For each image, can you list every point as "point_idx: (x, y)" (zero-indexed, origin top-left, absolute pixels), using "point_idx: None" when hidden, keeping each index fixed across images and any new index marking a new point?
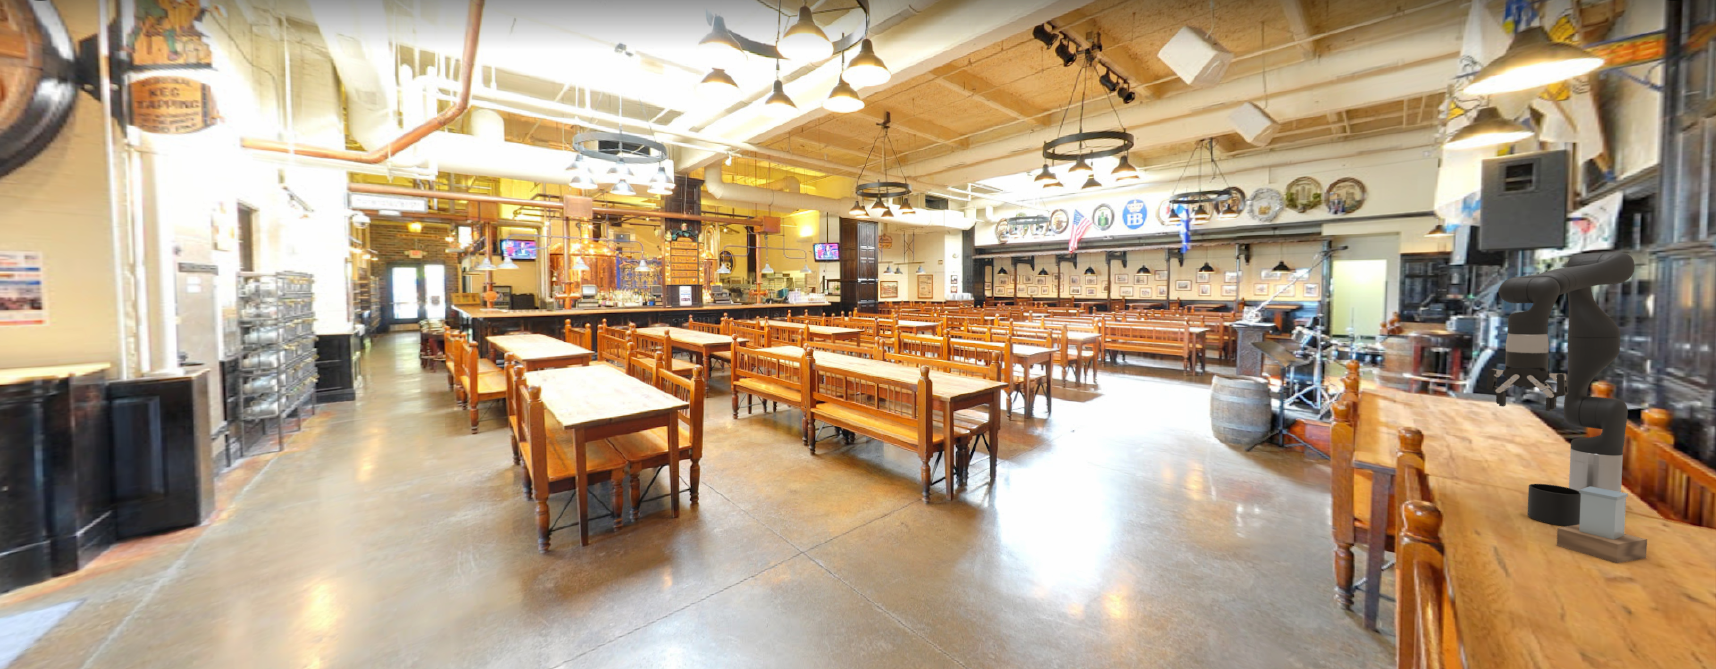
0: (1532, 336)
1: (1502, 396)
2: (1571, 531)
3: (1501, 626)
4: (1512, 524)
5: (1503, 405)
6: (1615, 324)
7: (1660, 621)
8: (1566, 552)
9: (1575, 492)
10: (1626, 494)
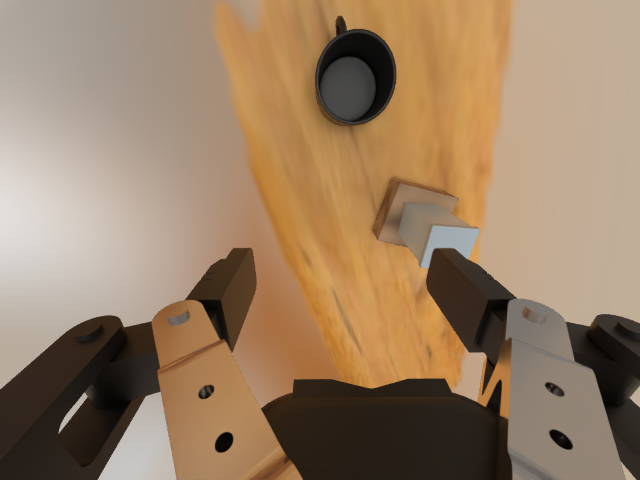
0: None
1: (237, 335)
2: (391, 242)
3: None
4: (318, 181)
5: (254, 278)
6: None
7: (445, 353)
8: (383, 248)
9: (383, 49)
10: (477, 234)
